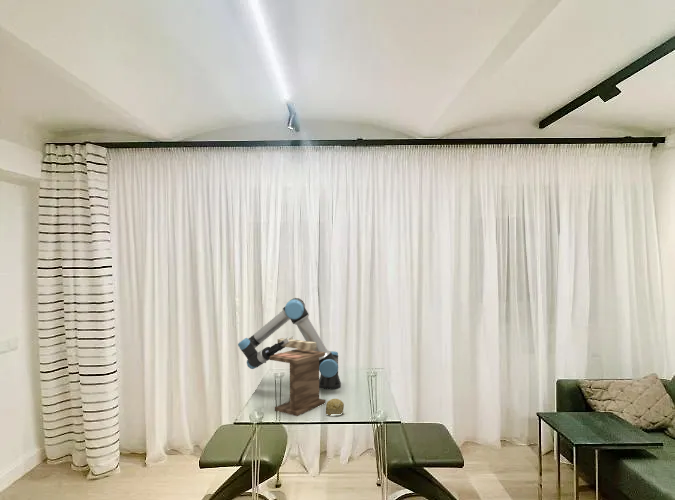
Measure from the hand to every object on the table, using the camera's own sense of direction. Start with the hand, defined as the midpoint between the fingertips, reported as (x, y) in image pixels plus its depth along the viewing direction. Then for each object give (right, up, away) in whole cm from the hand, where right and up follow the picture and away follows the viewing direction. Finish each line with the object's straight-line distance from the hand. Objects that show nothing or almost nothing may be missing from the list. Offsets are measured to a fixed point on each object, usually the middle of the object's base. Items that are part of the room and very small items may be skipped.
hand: (290, 339), depth 284 cm
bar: (+4, -5, -3) cm, 6 cm away
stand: (+5, -37, -11) cm, 39 cm away
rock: (+27, -37, -24) cm, 51 cm away
